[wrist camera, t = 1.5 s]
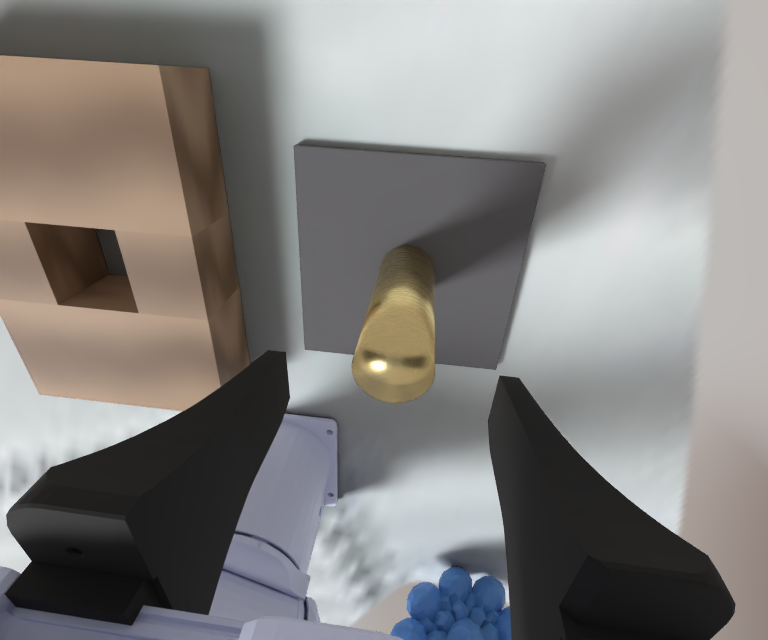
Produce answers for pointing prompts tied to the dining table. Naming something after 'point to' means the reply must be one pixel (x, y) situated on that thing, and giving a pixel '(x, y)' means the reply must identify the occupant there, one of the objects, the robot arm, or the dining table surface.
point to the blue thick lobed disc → (456, 610)
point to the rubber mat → (413, 241)
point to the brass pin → (399, 329)
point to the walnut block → (132, 227)
